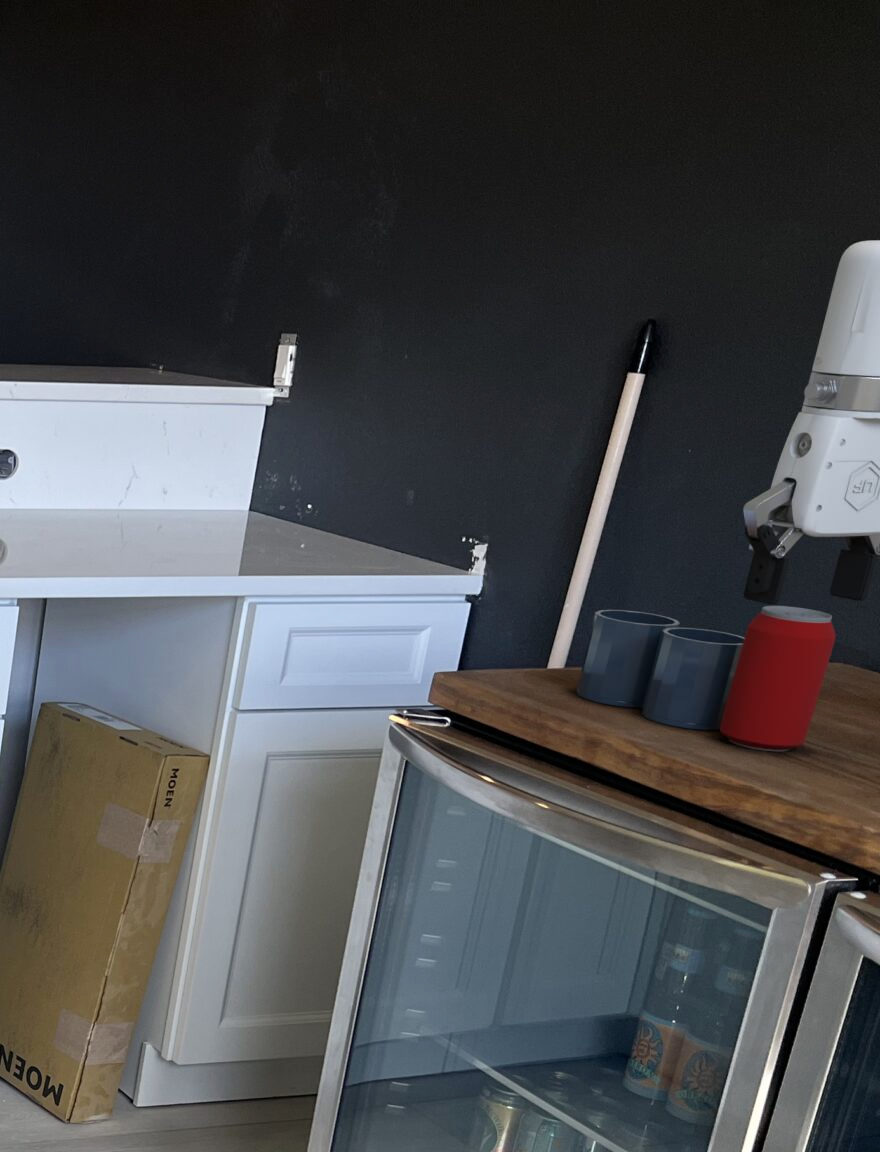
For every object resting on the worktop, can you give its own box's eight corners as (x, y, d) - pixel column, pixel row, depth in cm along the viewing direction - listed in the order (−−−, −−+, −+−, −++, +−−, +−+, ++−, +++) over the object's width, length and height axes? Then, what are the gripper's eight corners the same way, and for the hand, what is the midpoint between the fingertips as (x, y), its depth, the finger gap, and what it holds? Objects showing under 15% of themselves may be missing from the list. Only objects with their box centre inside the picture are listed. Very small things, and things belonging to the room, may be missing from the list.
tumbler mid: (720, 716, 179) (742, 633, 176) (733, 733, 172) (758, 648, 169) (636, 706, 181) (657, 624, 178) (647, 723, 174) (669, 638, 171)
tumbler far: (651, 695, 186) (672, 615, 183) (662, 711, 180) (684, 628, 176) (572, 686, 188) (591, 606, 185) (580, 701, 182) (600, 619, 179)
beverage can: (797, 741, 171) (836, 610, 166) (806, 758, 165) (846, 623, 160) (713, 730, 173) (749, 600, 169) (720, 746, 167) (757, 613, 163)
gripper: (815, 401, 152) (762, 611, 159) (976, 401, 157) (917, 604, 163) (739, 393, 159) (691, 594, 165) (895, 392, 164) (842, 588, 170)
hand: (803, 599), depth 164 cm, fingers open, 9 cm apart
